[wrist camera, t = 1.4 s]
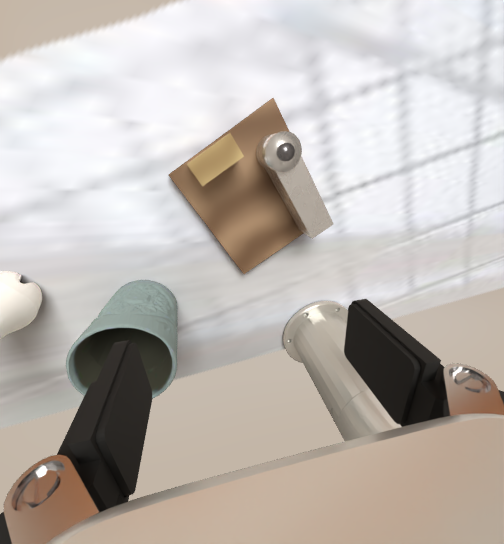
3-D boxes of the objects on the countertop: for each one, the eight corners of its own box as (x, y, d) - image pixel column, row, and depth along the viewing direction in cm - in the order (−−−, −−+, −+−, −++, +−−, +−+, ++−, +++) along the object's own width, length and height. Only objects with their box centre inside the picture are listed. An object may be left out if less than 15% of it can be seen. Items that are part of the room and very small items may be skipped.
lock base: (324, 213, 35) (347, 223, 30) (242, 269, 36) (250, 289, 31) (269, 100, 28) (287, 87, 23) (169, 174, 29) (164, 177, 24)
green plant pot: (146, 345, 38) (128, 419, 28) (87, 305, 34) (38, 375, 23) (196, 304, 37) (198, 365, 26) (142, 257, 33) (117, 307, 22)
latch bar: (250, 147, 28) (261, 145, 23) (277, 127, 28) (294, 122, 23) (297, 231, 33) (314, 243, 29) (320, 215, 33) (341, 225, 28)
